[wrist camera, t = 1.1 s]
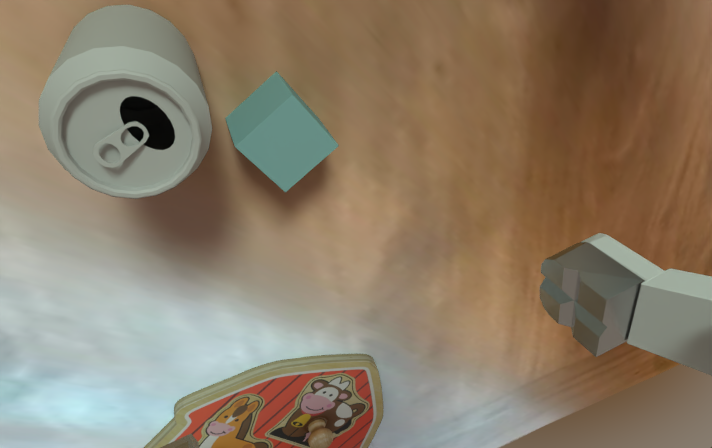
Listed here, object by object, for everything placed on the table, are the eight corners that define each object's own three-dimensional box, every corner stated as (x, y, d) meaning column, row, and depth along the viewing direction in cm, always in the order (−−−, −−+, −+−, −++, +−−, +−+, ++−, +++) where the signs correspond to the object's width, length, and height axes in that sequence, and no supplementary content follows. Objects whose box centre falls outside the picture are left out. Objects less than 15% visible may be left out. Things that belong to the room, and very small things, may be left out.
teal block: (276, 70, 34) (292, 94, 31) (319, 118, 37) (338, 145, 34) (225, 117, 35) (234, 146, 31) (271, 161, 38) (285, 192, 34)
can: (218, 82, 33) (246, 157, 24) (127, 140, 33) (120, 238, 24) (142, -24, 29) (140, 20, 19) (36, 44, 29) (-16, 121, 19)
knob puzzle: (89, 483, 52) (85, 526, 49) (272, 302, 47) (282, 336, 43) (284, 514, 70) (291, 547, 67) (433, 386, 65) (449, 414, 61)
